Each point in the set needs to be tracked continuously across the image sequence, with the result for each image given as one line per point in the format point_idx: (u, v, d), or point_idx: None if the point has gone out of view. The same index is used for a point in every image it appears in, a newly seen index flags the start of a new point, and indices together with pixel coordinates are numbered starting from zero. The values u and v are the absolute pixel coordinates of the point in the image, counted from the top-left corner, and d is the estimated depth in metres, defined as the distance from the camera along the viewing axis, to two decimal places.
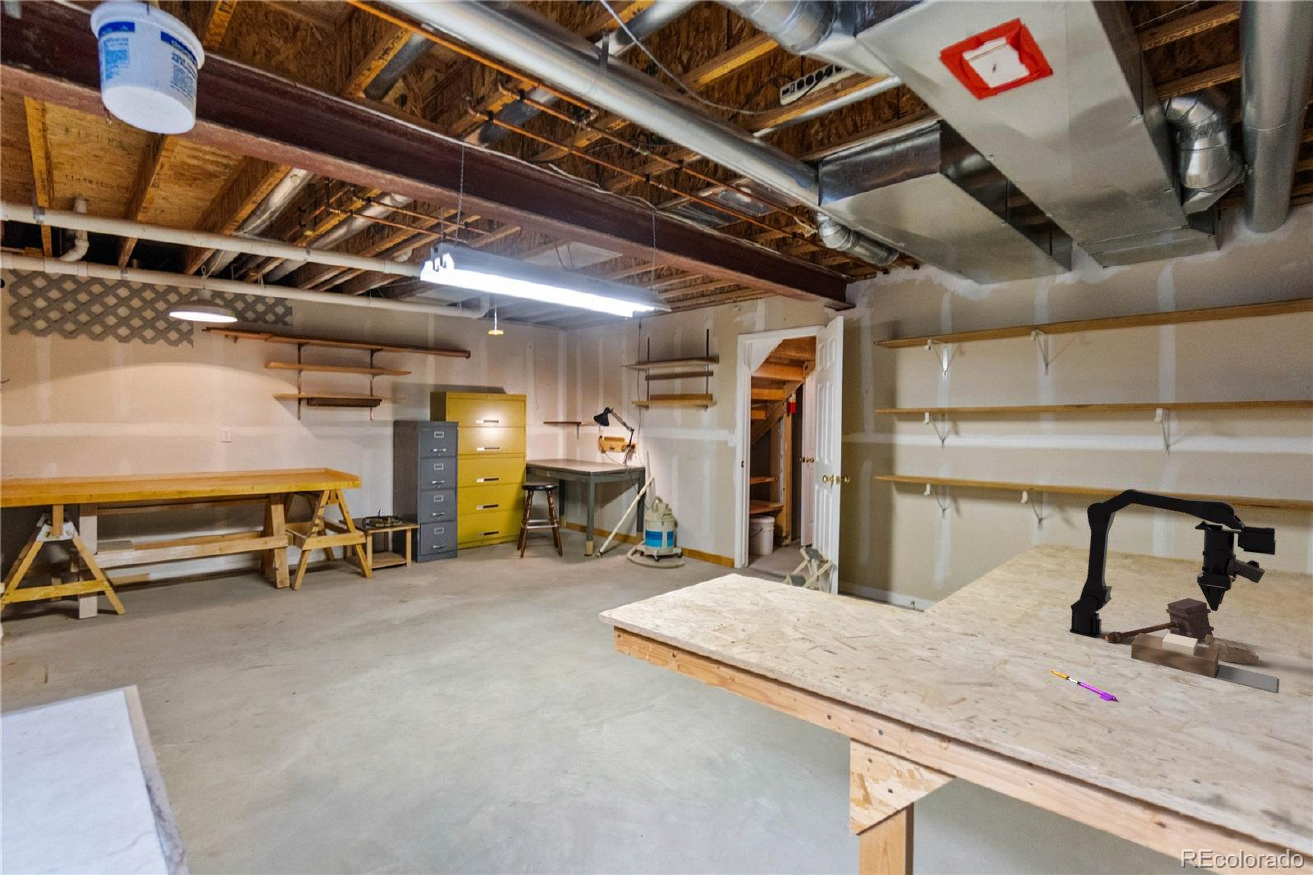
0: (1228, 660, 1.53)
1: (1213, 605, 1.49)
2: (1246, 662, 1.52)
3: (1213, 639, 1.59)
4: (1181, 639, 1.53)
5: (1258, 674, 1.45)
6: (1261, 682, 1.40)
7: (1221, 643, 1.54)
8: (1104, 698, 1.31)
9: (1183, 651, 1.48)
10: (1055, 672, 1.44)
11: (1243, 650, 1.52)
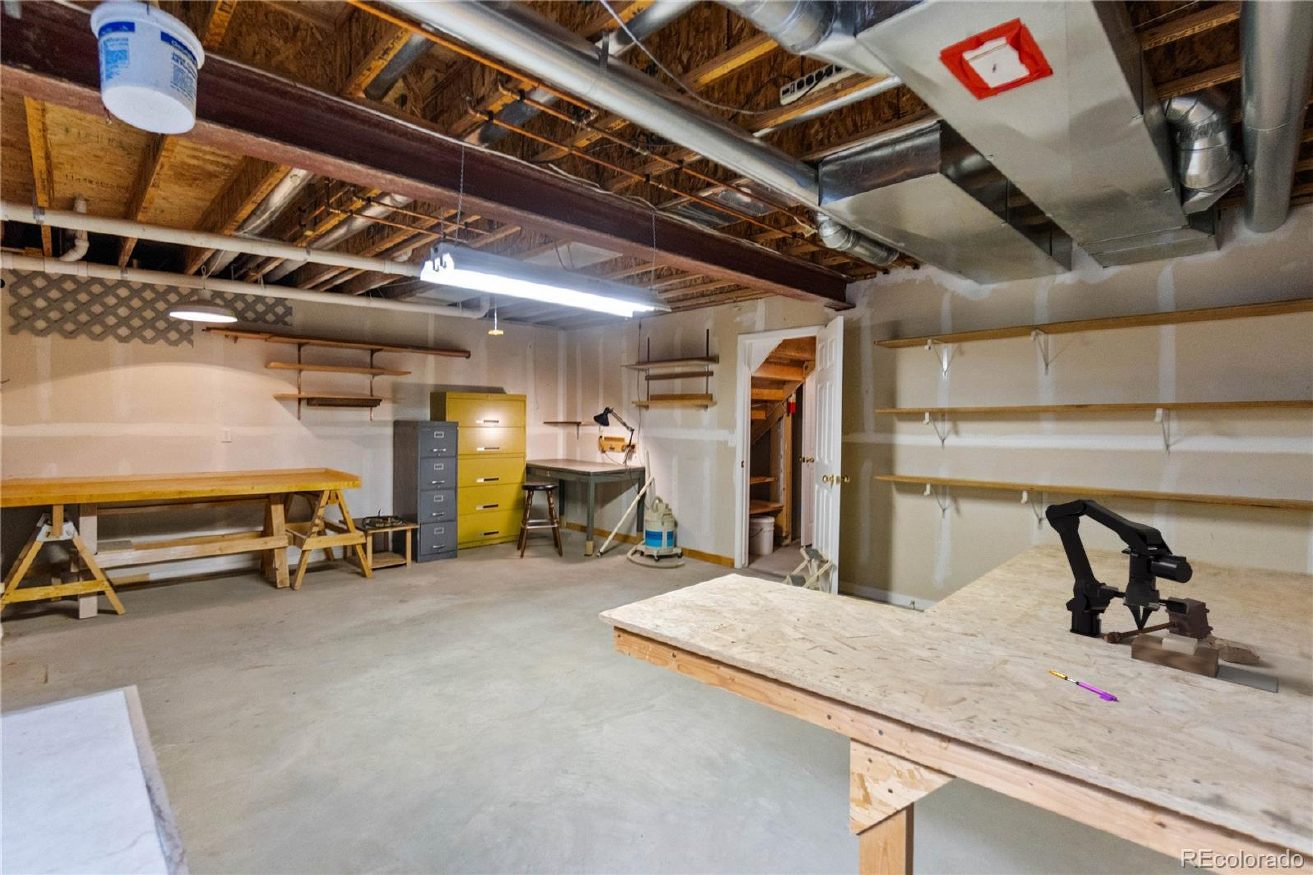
0: (1229, 660, 1.53)
1: None
2: (1247, 662, 1.52)
3: (1214, 639, 1.59)
4: (1181, 639, 1.53)
5: (1258, 674, 1.45)
6: (1261, 682, 1.40)
7: (1222, 643, 1.55)
8: (1104, 698, 1.31)
9: (1183, 651, 1.48)
10: (1053, 672, 1.44)
11: (1244, 650, 1.52)
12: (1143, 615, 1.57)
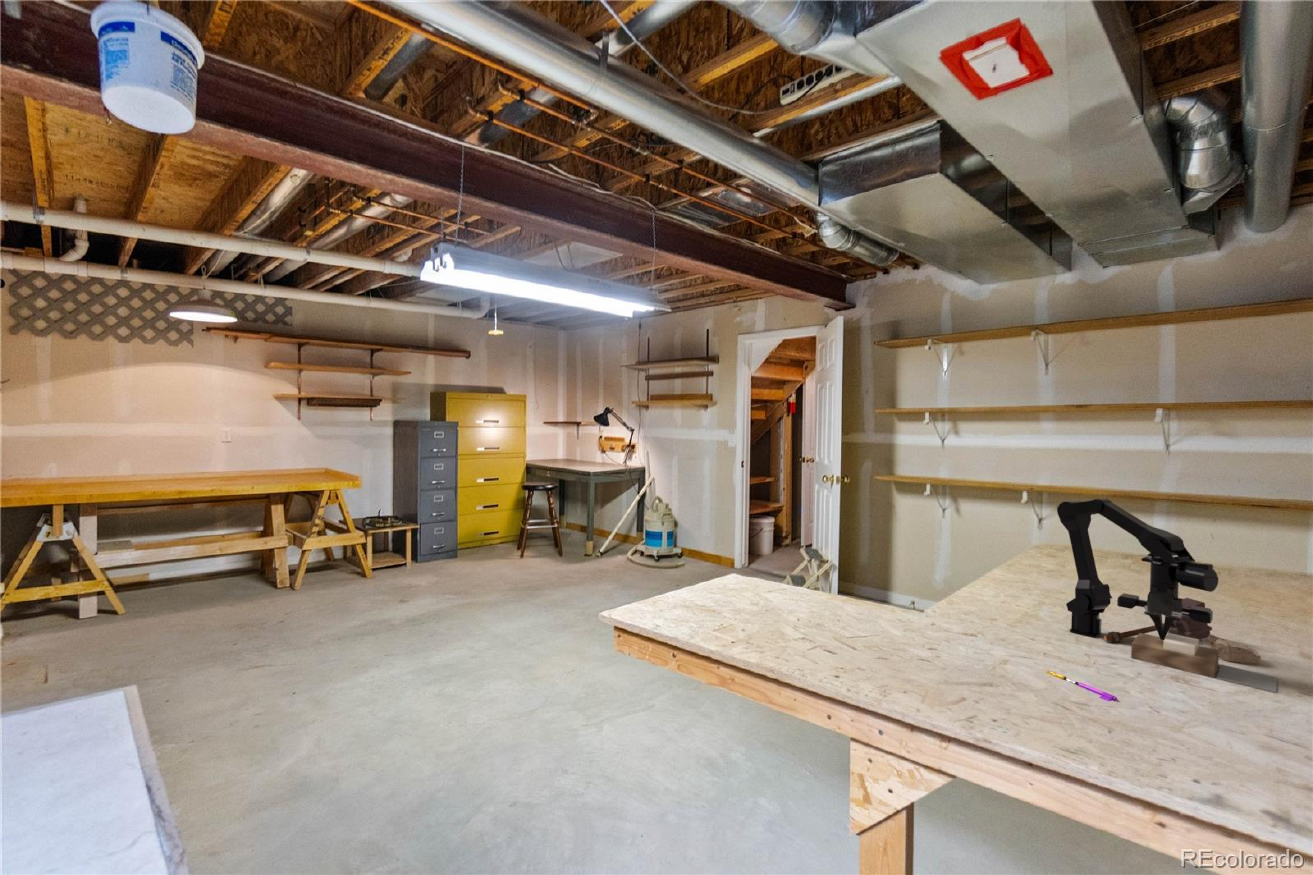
0: (1229, 659, 1.53)
1: None
2: (1248, 662, 1.52)
3: (1215, 639, 1.59)
4: (1182, 639, 1.52)
5: (1258, 674, 1.45)
6: (1261, 682, 1.40)
7: (1223, 642, 1.55)
8: (1105, 698, 1.31)
9: (1184, 651, 1.48)
10: (1051, 673, 1.44)
11: (1245, 650, 1.52)
12: (1165, 624, 1.53)
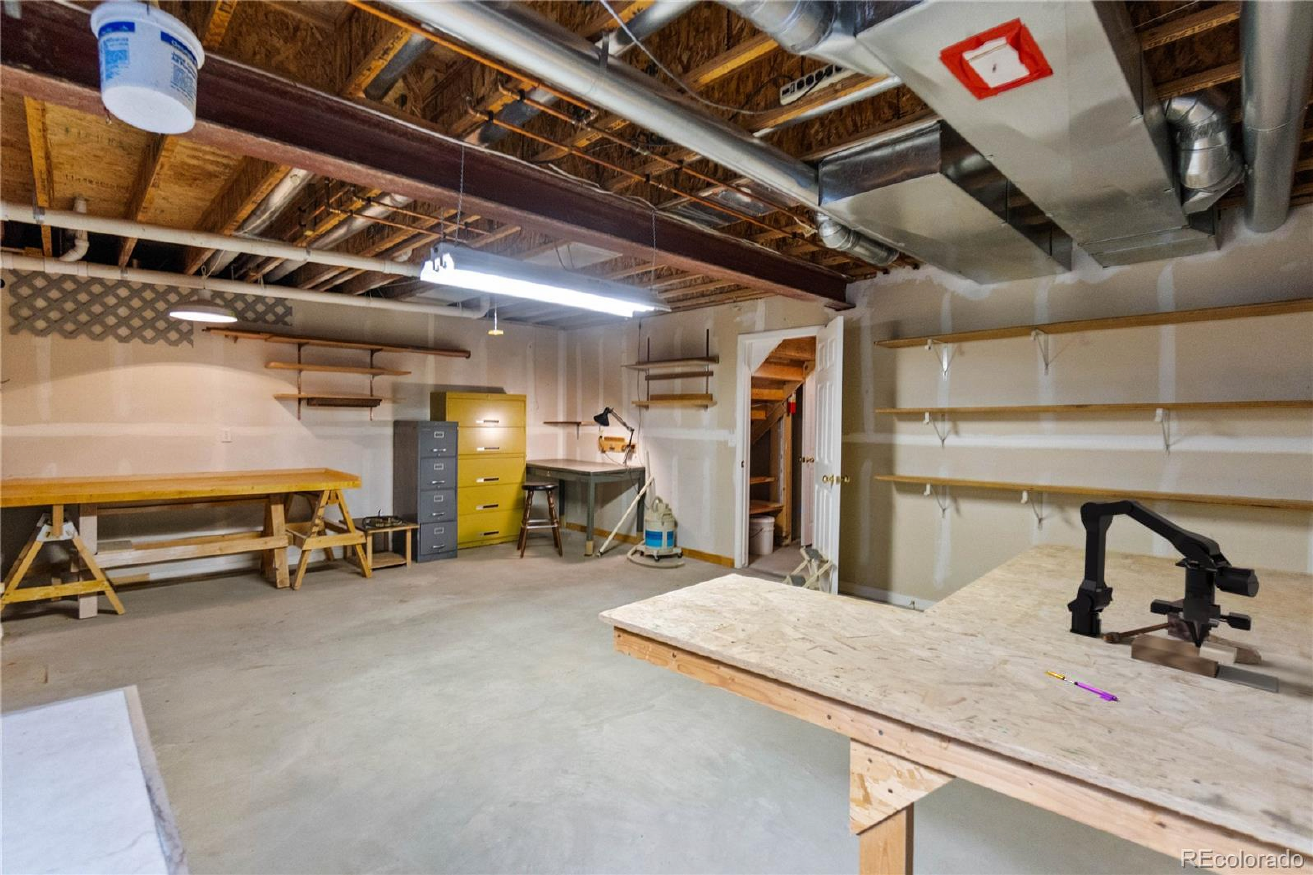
0: None
1: None
2: (1248, 662, 1.52)
3: (1216, 638, 1.59)
4: (1220, 648, 1.47)
5: (1258, 674, 1.45)
6: (1261, 682, 1.40)
7: (1223, 642, 1.55)
8: (1105, 698, 1.31)
9: (1222, 660, 1.43)
10: (1050, 673, 1.43)
11: (1245, 650, 1.52)
12: (1201, 631, 1.48)
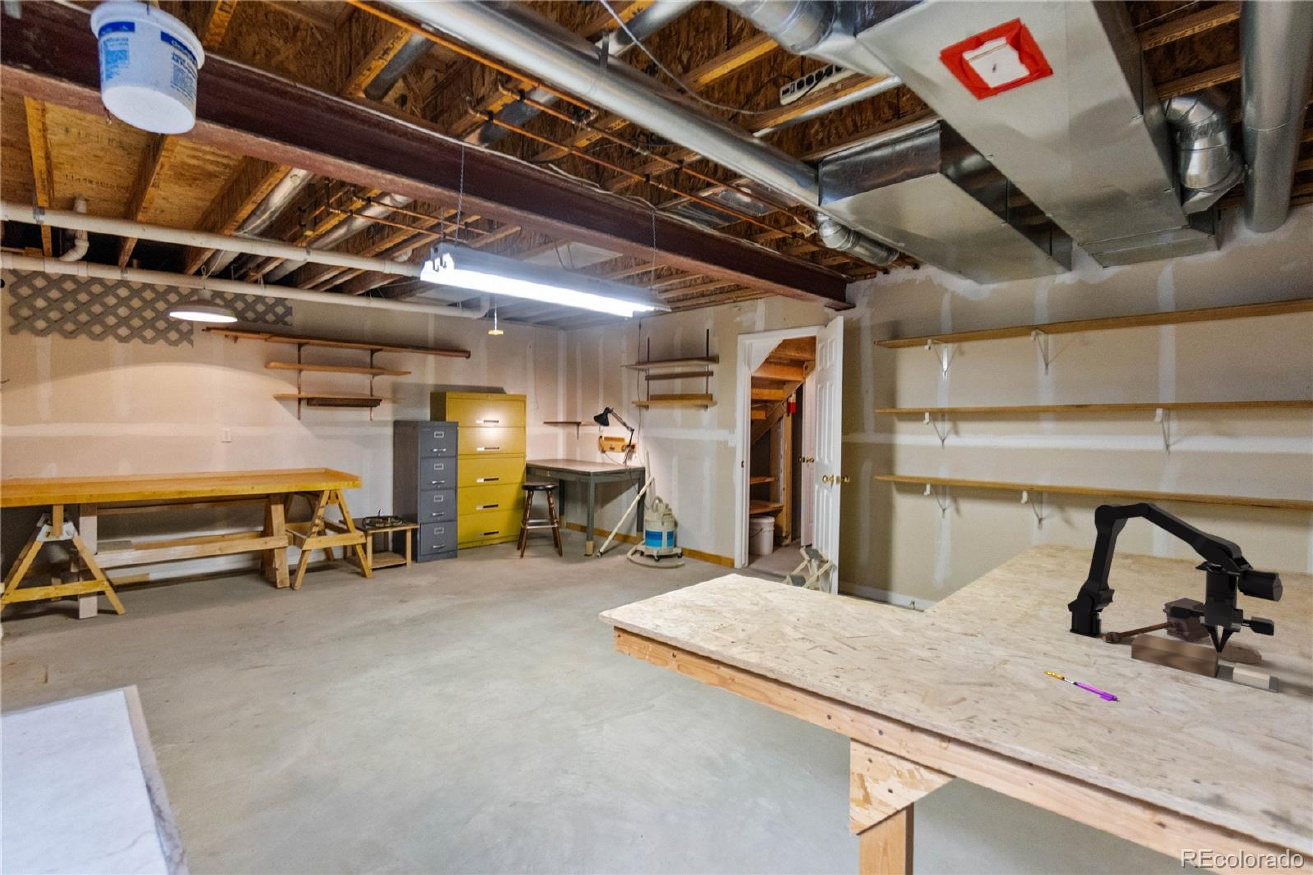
0: (1230, 659, 1.53)
1: None
2: (1249, 661, 1.52)
3: None
4: None
5: None
6: None
7: None
8: (1105, 698, 1.31)
9: (1243, 676, 1.40)
10: (1049, 673, 1.43)
11: (1246, 649, 1.52)
12: (1223, 636, 1.45)
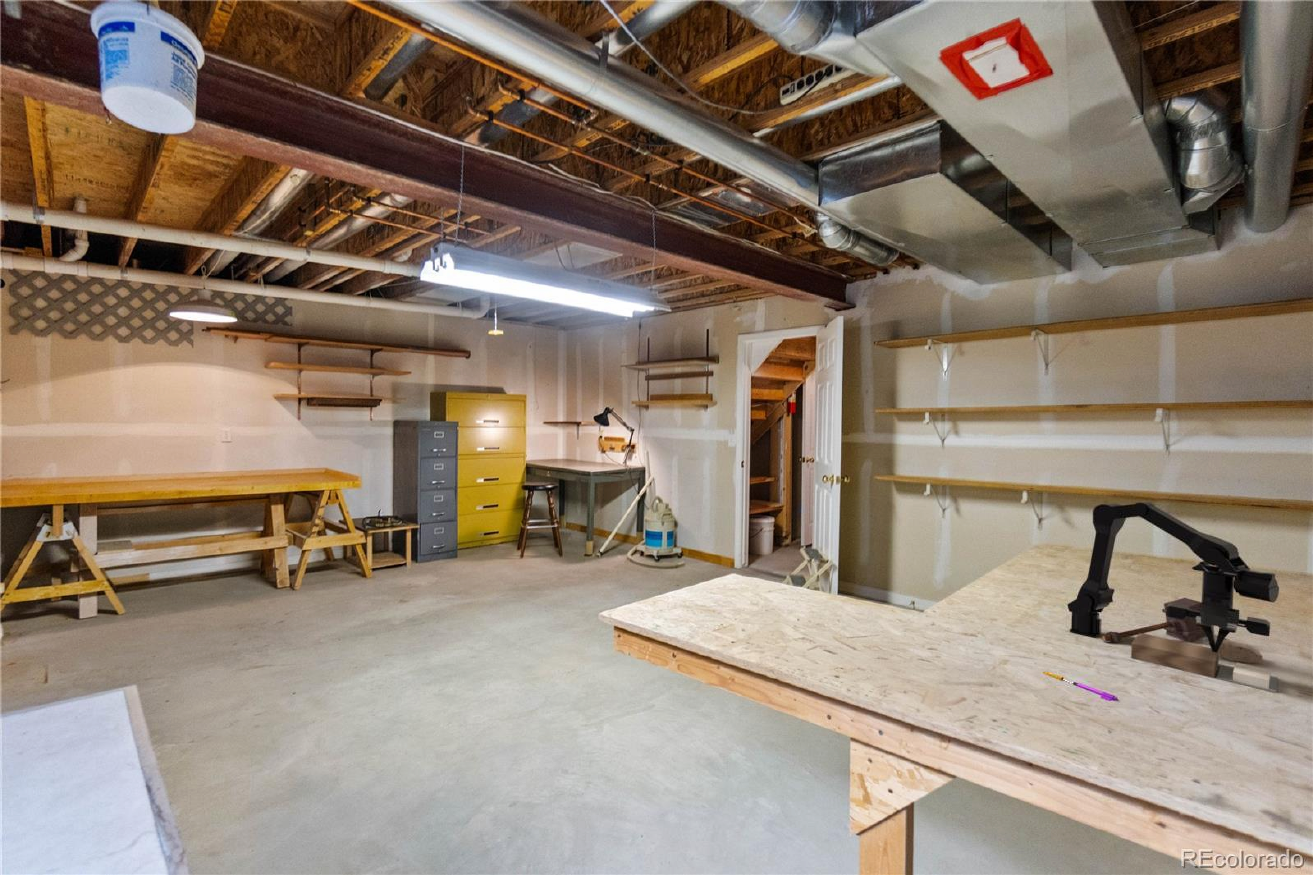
0: (1231, 659, 1.54)
1: None
2: (1249, 661, 1.52)
3: None
4: None
5: None
6: None
7: (1224, 642, 1.55)
8: (1106, 698, 1.31)
9: (1243, 676, 1.40)
10: (1048, 673, 1.43)
11: (1246, 649, 1.53)
12: (1219, 636, 1.46)
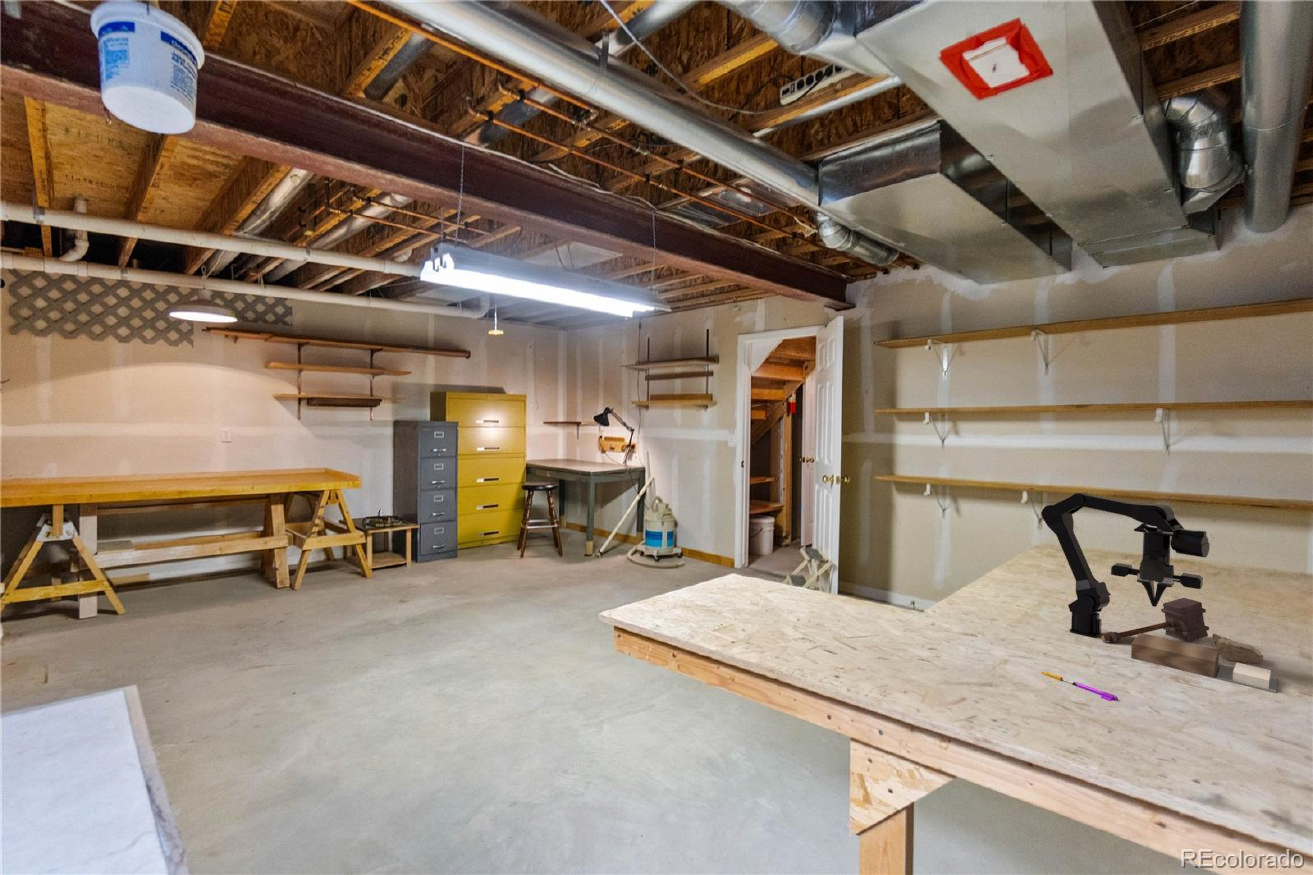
0: (1231, 659, 1.54)
1: None
2: (1250, 661, 1.53)
3: (1219, 638, 1.60)
4: None
5: None
6: None
7: (1225, 642, 1.55)
8: (1106, 698, 1.31)
9: (1243, 676, 1.40)
10: (1047, 673, 1.43)
11: (1247, 649, 1.53)
12: (1157, 591, 1.58)
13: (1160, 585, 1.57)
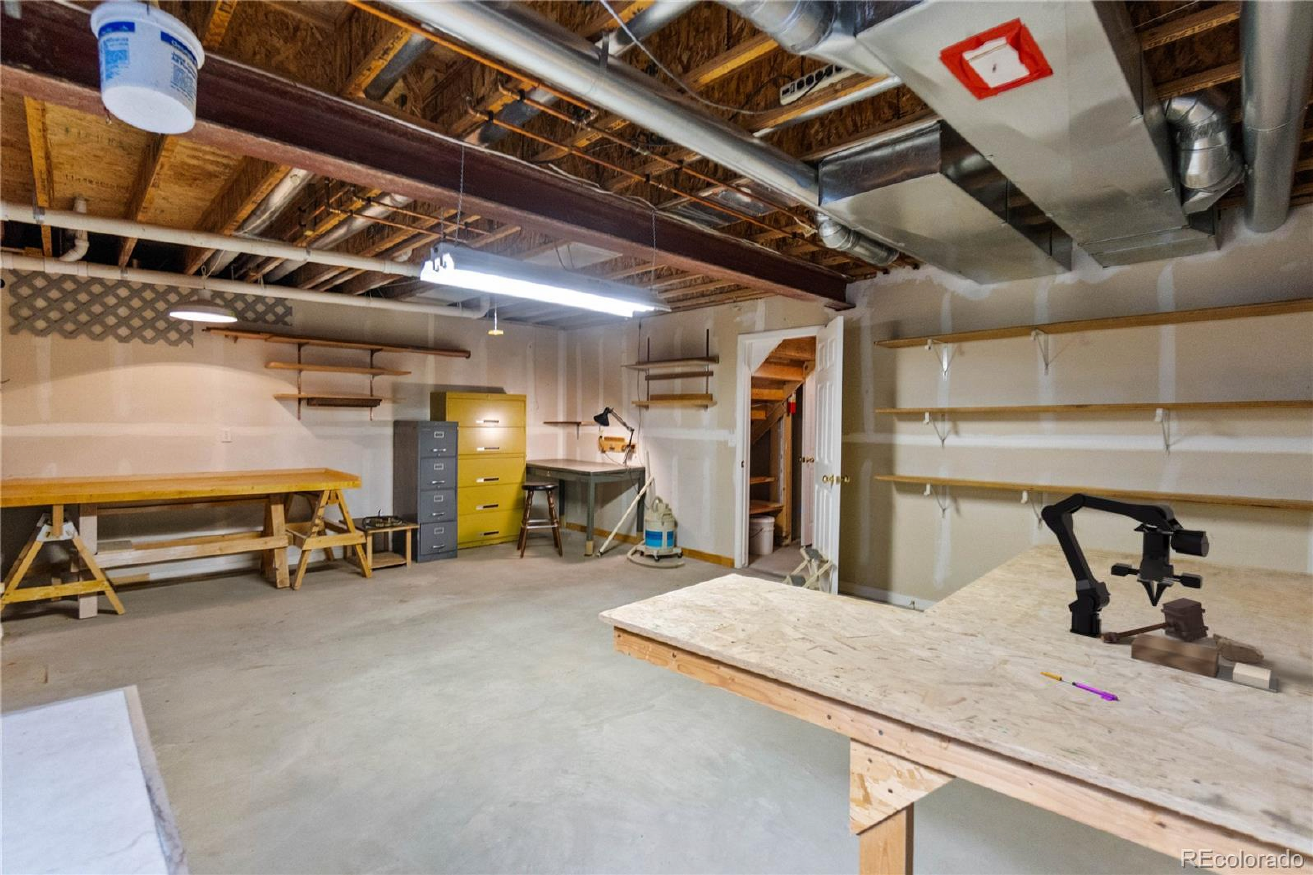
0: (1232, 658, 1.54)
1: None
2: (1251, 661, 1.53)
3: (1219, 638, 1.60)
4: None
5: None
6: None
7: (1225, 642, 1.55)
8: (1106, 698, 1.31)
9: (1243, 676, 1.40)
10: (1046, 674, 1.43)
11: (1247, 649, 1.53)
12: (1157, 591, 1.58)
13: (1160, 585, 1.57)
